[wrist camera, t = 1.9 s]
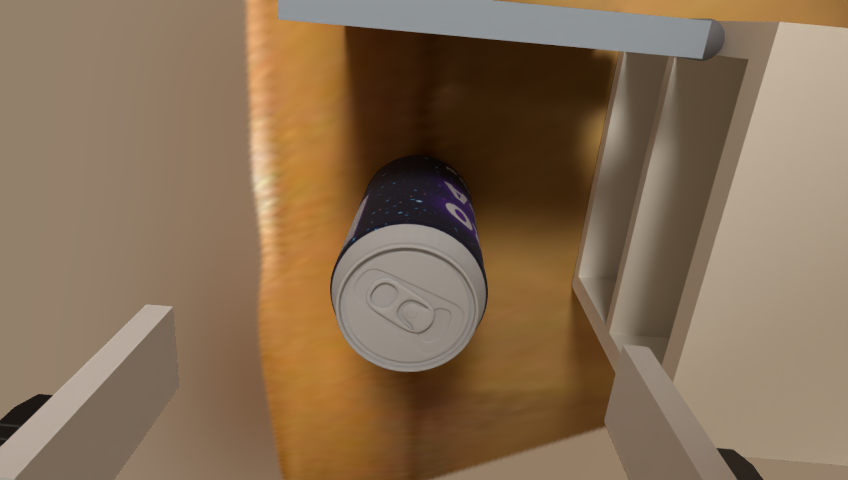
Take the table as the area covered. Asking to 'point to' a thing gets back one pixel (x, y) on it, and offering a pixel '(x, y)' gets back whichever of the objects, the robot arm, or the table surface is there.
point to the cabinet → (731, 234)
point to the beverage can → (411, 268)
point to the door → (520, 24)
